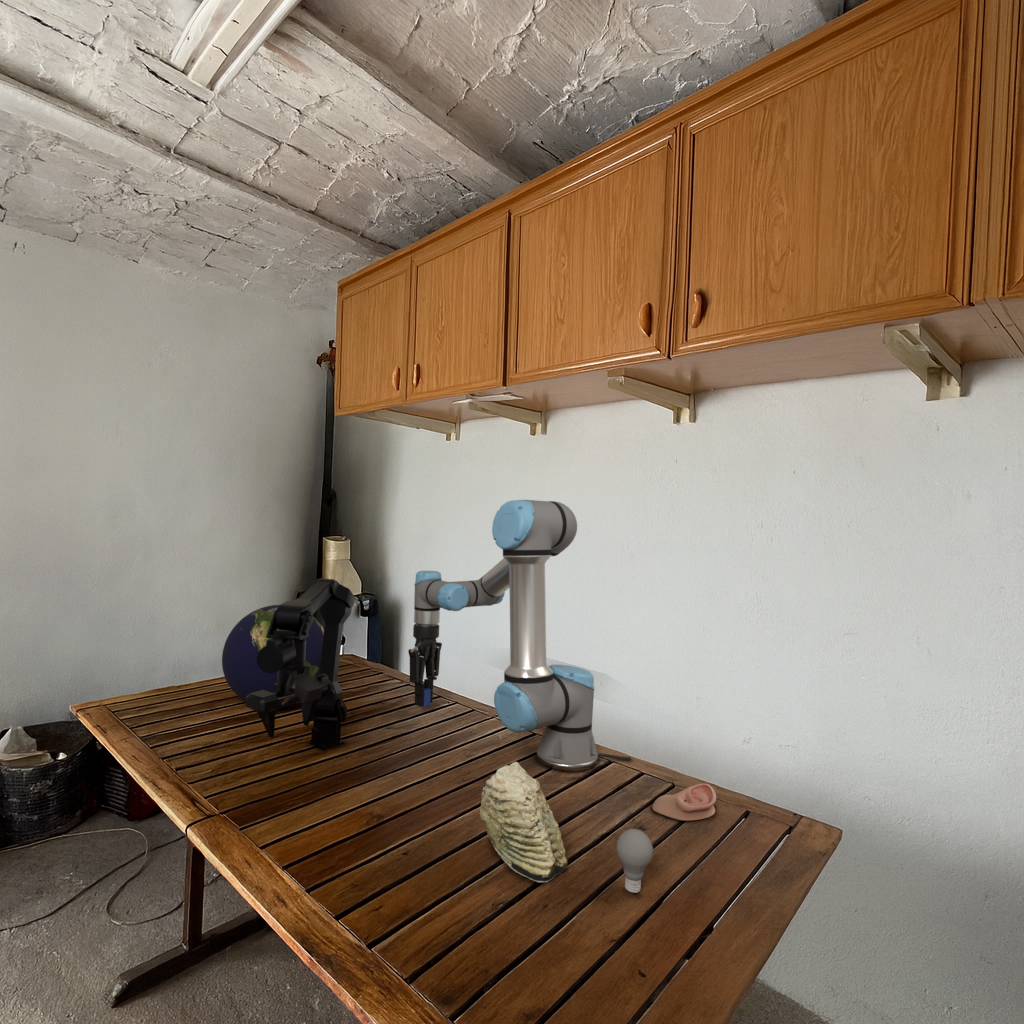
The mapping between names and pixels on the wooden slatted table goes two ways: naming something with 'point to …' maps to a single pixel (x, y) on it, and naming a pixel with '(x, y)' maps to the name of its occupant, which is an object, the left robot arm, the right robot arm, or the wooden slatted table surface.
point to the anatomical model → (687, 803)
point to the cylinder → (427, 696)
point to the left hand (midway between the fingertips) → (289, 731)
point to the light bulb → (634, 857)
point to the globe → (245, 649)
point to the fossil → (522, 824)
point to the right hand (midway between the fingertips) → (423, 703)
